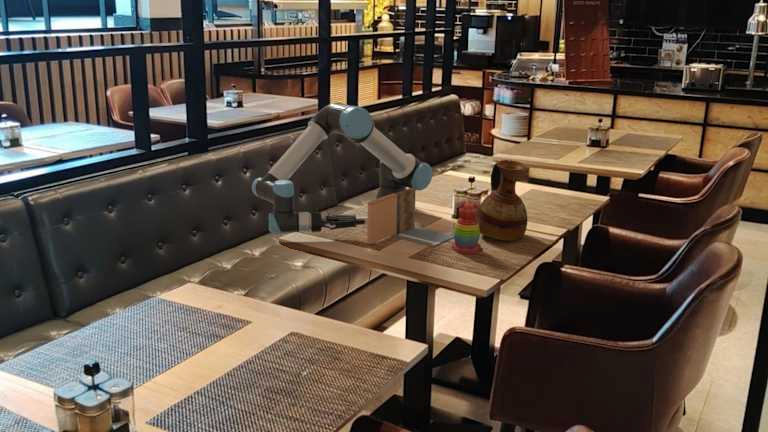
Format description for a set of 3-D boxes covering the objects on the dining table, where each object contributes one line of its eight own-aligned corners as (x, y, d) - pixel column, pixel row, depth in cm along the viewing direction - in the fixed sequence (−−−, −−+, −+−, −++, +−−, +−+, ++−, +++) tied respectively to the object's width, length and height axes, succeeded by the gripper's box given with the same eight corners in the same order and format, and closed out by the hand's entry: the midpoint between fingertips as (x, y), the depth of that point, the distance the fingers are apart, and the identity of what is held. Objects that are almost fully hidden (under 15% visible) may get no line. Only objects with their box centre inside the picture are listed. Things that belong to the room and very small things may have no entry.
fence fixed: (410, 226, 295) (411, 187, 290) (415, 227, 294) (416, 188, 289) (393, 233, 286) (394, 193, 281) (397, 234, 285) (398, 194, 280)
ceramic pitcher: (492, 247, 273) (497, 168, 265) (465, 231, 291) (468, 157, 282) (536, 241, 281) (542, 164, 273) (507, 226, 299) (512, 153, 290)
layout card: (408, 225, 297) (408, 224, 297) (455, 237, 284) (455, 235, 284) (385, 234, 286) (385, 233, 286) (433, 246, 273) (433, 245, 273)
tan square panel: (392, 232, 286) (393, 193, 281) (396, 233, 284) (397, 194, 280) (366, 243, 273) (367, 201, 269) (371, 244, 272) (371, 202, 268)
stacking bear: (480, 246, 275) (483, 199, 270) (481, 255, 265) (484, 207, 260) (451, 244, 276) (453, 198, 271) (451, 253, 266) (453, 206, 261)
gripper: (310, 226, 284) (371, 224, 287) (311, 237, 271) (375, 235, 274) (309, 207, 282) (371, 206, 285) (311, 217, 269) (375, 216, 272)
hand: (373, 220), depth 280 cm, fingers closed
